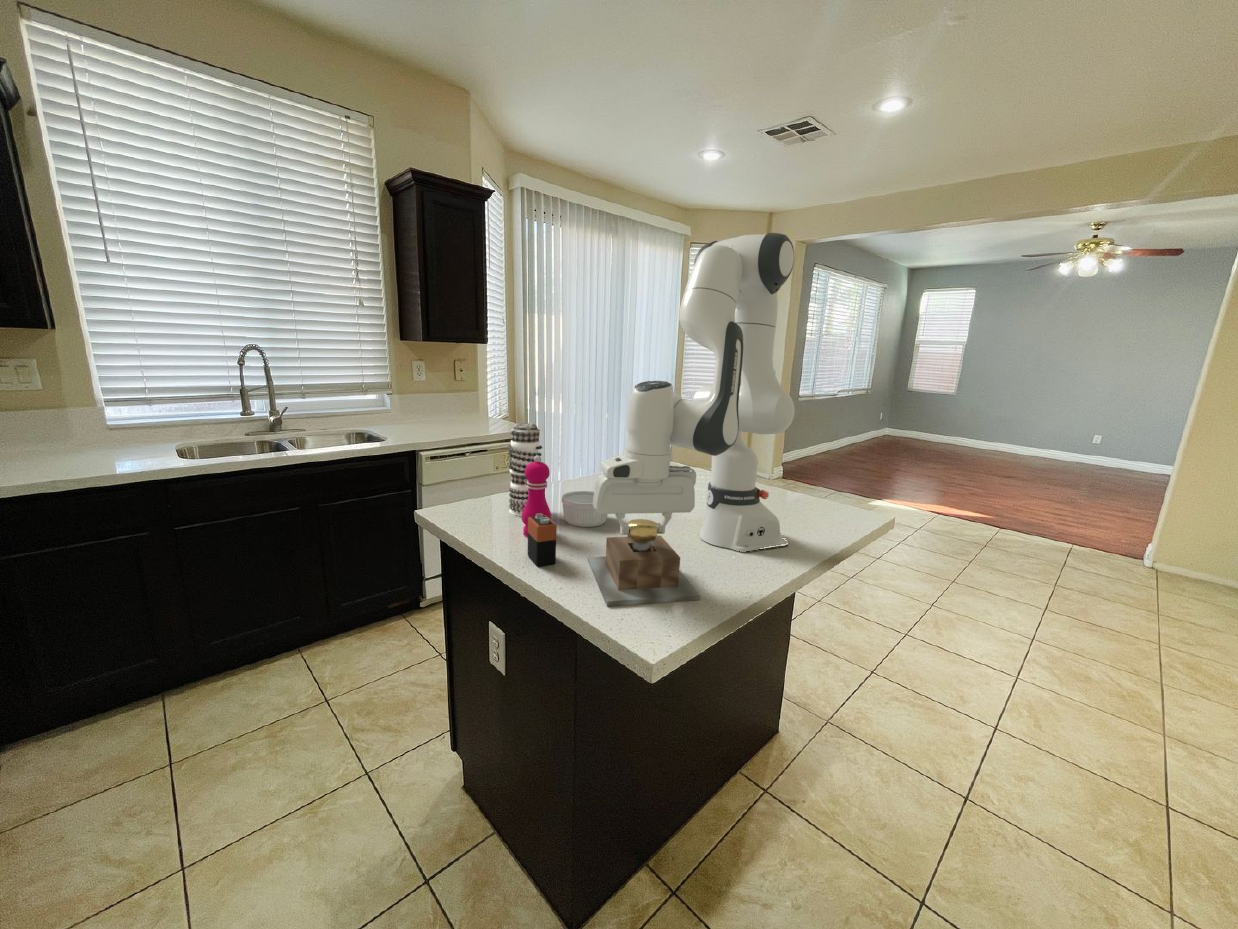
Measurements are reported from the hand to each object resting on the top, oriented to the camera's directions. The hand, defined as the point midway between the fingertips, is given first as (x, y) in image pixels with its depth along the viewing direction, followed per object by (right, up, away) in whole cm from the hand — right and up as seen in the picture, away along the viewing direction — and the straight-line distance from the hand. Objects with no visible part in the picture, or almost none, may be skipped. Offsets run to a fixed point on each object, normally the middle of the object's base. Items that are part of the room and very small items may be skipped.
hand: (642, 533), depth 97 cm
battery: (-22, -7, +9) cm, 25 cm away
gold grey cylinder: (0, -6, +1) cm, 6 cm away
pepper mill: (-25, -4, +24) cm, 35 cm away
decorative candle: (-31, 0, +41) cm, 52 cm away
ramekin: (-14, -2, +36) cm, 39 cm away
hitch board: (0, -10, +2) cm, 10 cm away
